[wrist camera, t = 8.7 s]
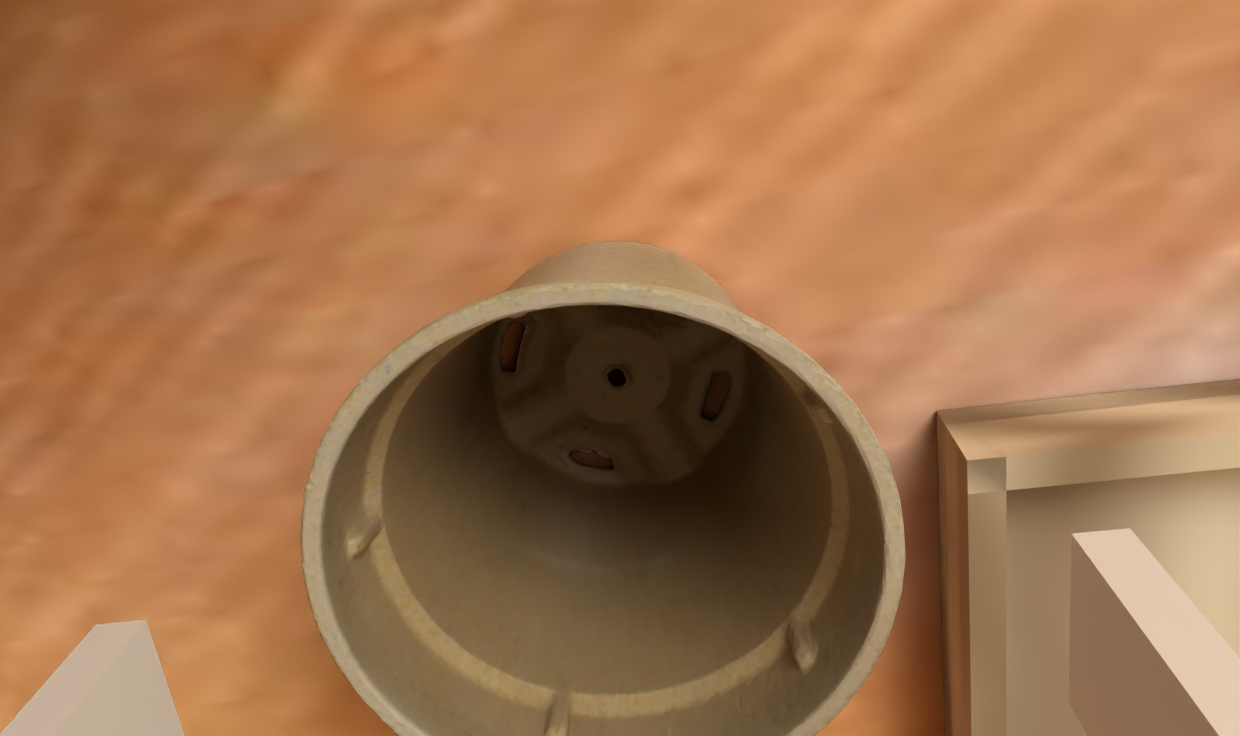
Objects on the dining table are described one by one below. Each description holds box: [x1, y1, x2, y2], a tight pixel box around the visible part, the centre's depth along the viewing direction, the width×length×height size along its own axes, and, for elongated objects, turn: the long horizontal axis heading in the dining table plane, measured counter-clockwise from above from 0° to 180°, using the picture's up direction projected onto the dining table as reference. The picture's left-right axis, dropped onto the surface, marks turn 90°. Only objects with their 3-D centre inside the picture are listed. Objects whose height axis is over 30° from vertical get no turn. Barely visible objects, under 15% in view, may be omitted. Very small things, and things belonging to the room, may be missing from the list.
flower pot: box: [300, 241, 906, 736], centre depth 20 cm, size 9×9×9 cm
